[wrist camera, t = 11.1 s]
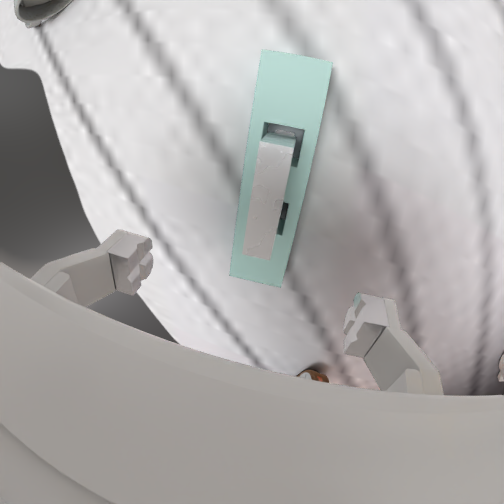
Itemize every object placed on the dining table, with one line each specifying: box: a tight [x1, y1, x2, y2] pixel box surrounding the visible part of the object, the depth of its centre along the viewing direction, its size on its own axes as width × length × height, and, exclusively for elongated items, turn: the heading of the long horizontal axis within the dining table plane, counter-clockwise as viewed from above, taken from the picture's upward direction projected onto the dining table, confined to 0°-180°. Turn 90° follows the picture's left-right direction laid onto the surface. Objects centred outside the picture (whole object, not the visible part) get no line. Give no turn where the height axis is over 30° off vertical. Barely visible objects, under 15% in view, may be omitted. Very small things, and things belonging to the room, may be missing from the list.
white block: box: [242, 130, 297, 261], centre depth 21 cm, size 8×2×8 cm, turn 172°
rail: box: [229, 50, 333, 288], centre depth 23 cm, size 5×20×3 cm, turn 172°
